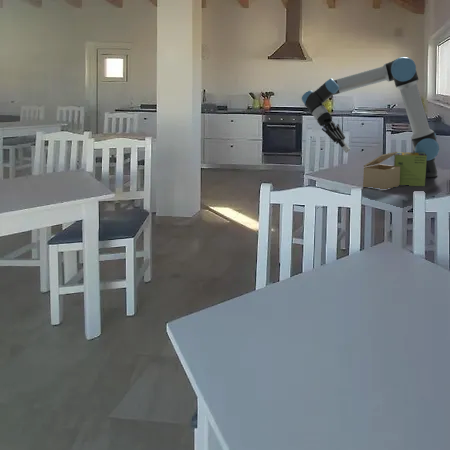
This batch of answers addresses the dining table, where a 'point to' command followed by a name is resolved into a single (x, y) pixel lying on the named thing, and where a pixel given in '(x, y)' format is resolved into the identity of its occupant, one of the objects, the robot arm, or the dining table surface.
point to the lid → (380, 159)
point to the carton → (381, 176)
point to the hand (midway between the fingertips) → (348, 150)
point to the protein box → (411, 168)
